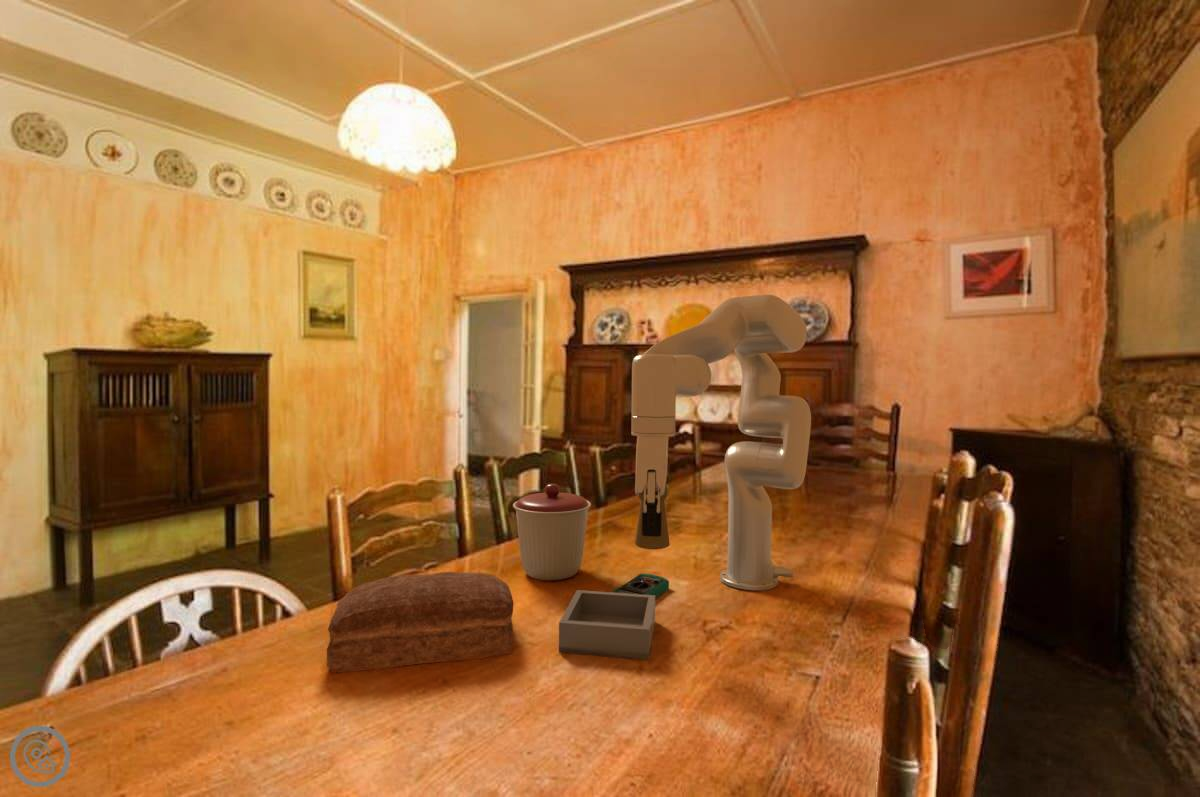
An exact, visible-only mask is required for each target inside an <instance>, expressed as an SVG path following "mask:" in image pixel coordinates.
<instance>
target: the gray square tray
mask: <svg viewBox="0 0 1200 797" xmlns="http://www.w3.org/2000/svg"><path fill="white" fill-rule="evenodd" d="M655 625H656V598H655V595H642V594H627V593H613V592H612V591H610V592H609V591H608V592H607V591H596V590H594V591H593V590H582V589H581V590H579V589H577V590H576V591H575V593H574V594H573V596H572V598H571V601H570V602H569V603H568V605H567V607H566V609H565V611H564V613H563V615H562V617H561V619H560V621H559V622H558V653H562V654H564V653H565V654H572V655H573V654H575V655H587V656H598V657H607V658H609V657H612V658H619V659H634V660H645V661H650V657H651V651H652V644H653V643H652V642H653V636H654V632H655V631H654V630H655Z"/></svg>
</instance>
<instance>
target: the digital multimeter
mask: <svg viewBox="0 0 1200 797" xmlns="http://www.w3.org/2000/svg"><path fill="white" fill-rule="evenodd" d="M669 589H670V581H669V580H668V579H667V578H666V577H663V576H659V575H656V574H655V575H654V574H651V573H649V574H648V573H640V574H637V576H635V577H633V578H632V579H631V580H629V581H627V582H626V583H624V584H622V585H620V586H619V587H618V588H616V589H613V591H611V592H613V593H627V594H642V595H655V599H656V598H658V597H659V596H661V595H662V594H664V593H665V592H667V591H668V590H669Z"/></svg>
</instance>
